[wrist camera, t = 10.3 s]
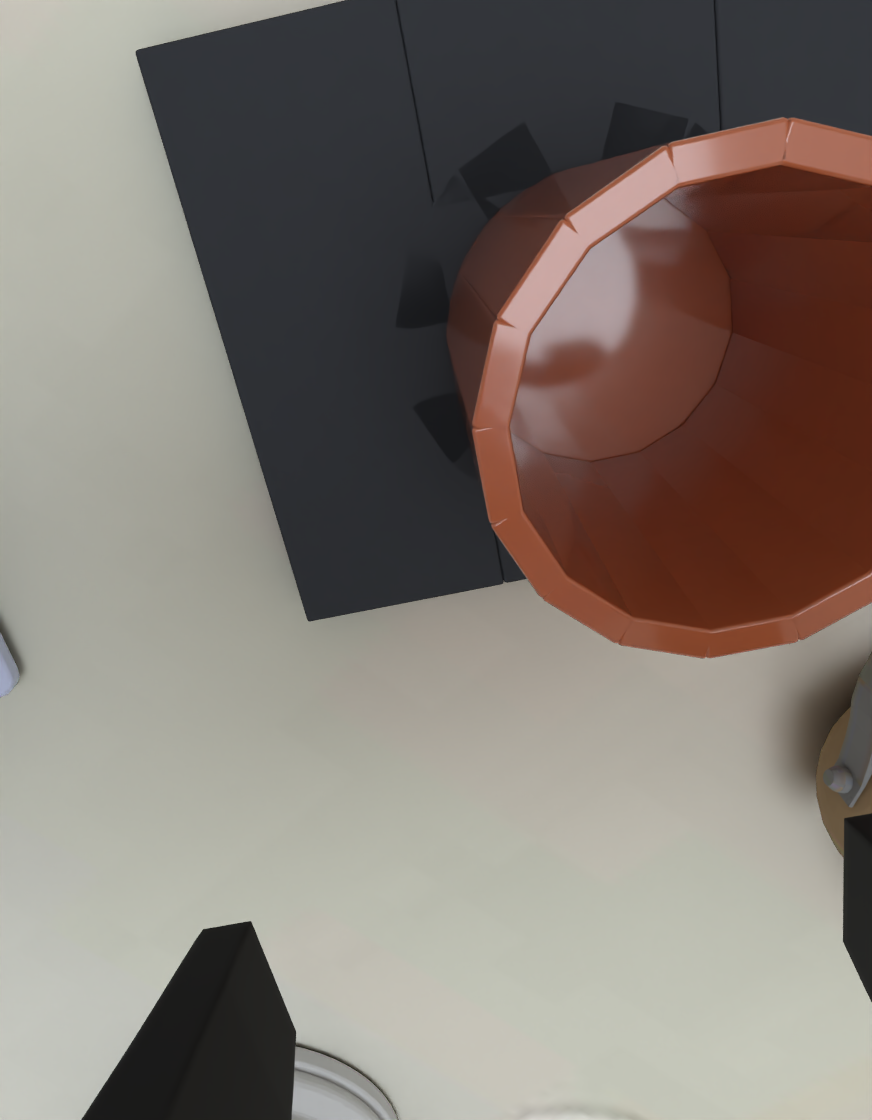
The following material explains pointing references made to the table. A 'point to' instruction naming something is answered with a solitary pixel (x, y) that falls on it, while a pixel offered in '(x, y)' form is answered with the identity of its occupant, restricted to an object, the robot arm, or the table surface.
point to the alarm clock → (847, 763)
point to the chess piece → (334, 1091)
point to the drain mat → (429, 223)
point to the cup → (681, 386)
